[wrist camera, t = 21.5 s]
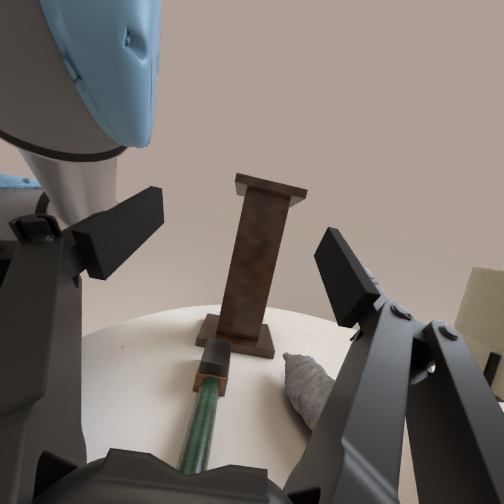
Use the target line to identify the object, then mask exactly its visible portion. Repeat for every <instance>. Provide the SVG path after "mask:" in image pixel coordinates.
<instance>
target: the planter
mask: <svg viewBox="0 0 504 504" xmlns="http://www.w3.org/2000/svg"><path fill="white" fill-rule="evenodd" d="M454 328H455V329H456V330H457V331H458V332H459V333H460V334H461V335H462V337H463V338H464V339H465V341H466V343H467V344H468V346H469V348H470V350H471V352H472V354H473V356H474V358H475V360H476V361H477V363H478V365H479V367H480V369H481V371H482V373H483V375H484V377H485V378H486V380H487V382H488V384H489V386H490V388H491V390H492V392H493V394H494V395H495V397H496V399H497V401H498V402H504V270H500V269H492V268H481V267H474V268H472V271H471V274H470V277H469V281H468V284H467V287H466V290H465V293H464V296H463V299H462V302H461V306H460V309H459V312H458V315H457V318H456V321H455V324H454Z"/></svg>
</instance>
